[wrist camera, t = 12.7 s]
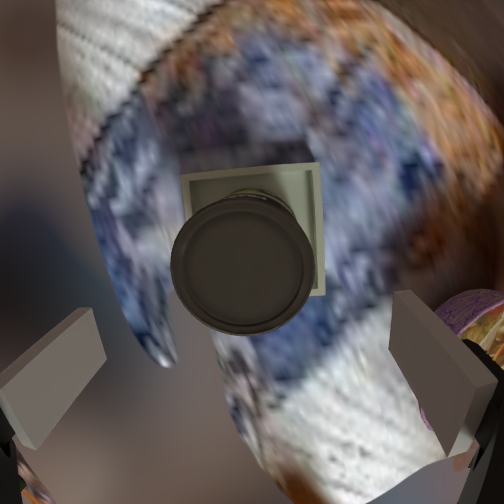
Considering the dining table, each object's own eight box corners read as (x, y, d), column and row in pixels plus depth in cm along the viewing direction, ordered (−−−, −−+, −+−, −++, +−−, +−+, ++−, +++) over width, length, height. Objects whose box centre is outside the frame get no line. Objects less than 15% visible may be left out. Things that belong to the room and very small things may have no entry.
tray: (187, 174, 35) (180, 174, 33) (315, 162, 34) (319, 162, 32) (202, 294, 39) (197, 303, 36) (321, 286, 38) (325, 294, 35)
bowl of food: (515, 274, 36) (562, 301, 25) (472, 384, 41) (503, 425, 30) (414, 256, 36) (460, 289, 25) (372, 387, 41) (394, 442, 30)
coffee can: (193, 207, 36) (147, 229, 22) (280, 173, 34) (286, 175, 21) (227, 288, 38) (204, 351, 24) (310, 260, 36) (332, 312, 23)
